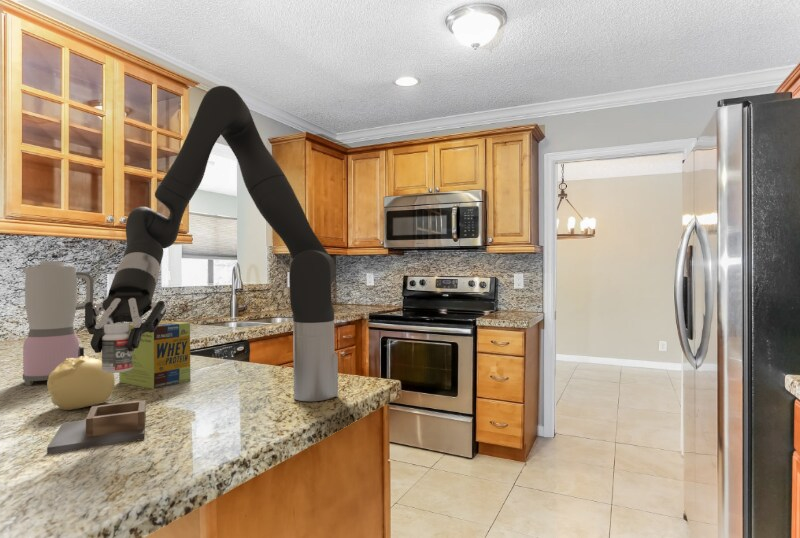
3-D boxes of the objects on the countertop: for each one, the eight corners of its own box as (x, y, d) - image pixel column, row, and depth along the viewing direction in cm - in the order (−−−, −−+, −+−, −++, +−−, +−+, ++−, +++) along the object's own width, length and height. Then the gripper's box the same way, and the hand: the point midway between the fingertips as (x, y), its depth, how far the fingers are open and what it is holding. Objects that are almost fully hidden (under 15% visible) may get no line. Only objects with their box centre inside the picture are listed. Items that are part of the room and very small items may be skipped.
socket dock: (145, 417, 92) (145, 396, 92) (144, 439, 79) (144, 415, 79) (62, 428, 86) (62, 406, 86) (47, 454, 73) (47, 428, 73)
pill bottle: (118, 373, 81) (118, 325, 81) (95, 372, 82) (95, 325, 82) (138, 368, 86) (138, 322, 86) (116, 367, 87) (116, 322, 87)
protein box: (154, 389, 114) (153, 326, 114) (118, 382, 122) (118, 323, 122) (191, 380, 123) (191, 322, 124) (156, 375, 131) (156, 319, 131)
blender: (19, 388, 117) (19, 260, 117) (24, 379, 127) (24, 262, 127) (94, 379, 126) (93, 261, 126) (93, 371, 136) (93, 262, 136)
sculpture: (56, 402, 103) (56, 354, 103) (119, 396, 108) (118, 350, 108) (38, 417, 93) (38, 363, 93) (108, 410, 97) (108, 358, 97)
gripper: (90, 266, 90) (59, 338, 78) (171, 266, 93) (153, 335, 81) (101, 293, 95) (74, 363, 83) (177, 292, 98) (161, 359, 86)
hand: (113, 349), depth 82 cm, fingers closed on pill bottle, 4 cm apart
